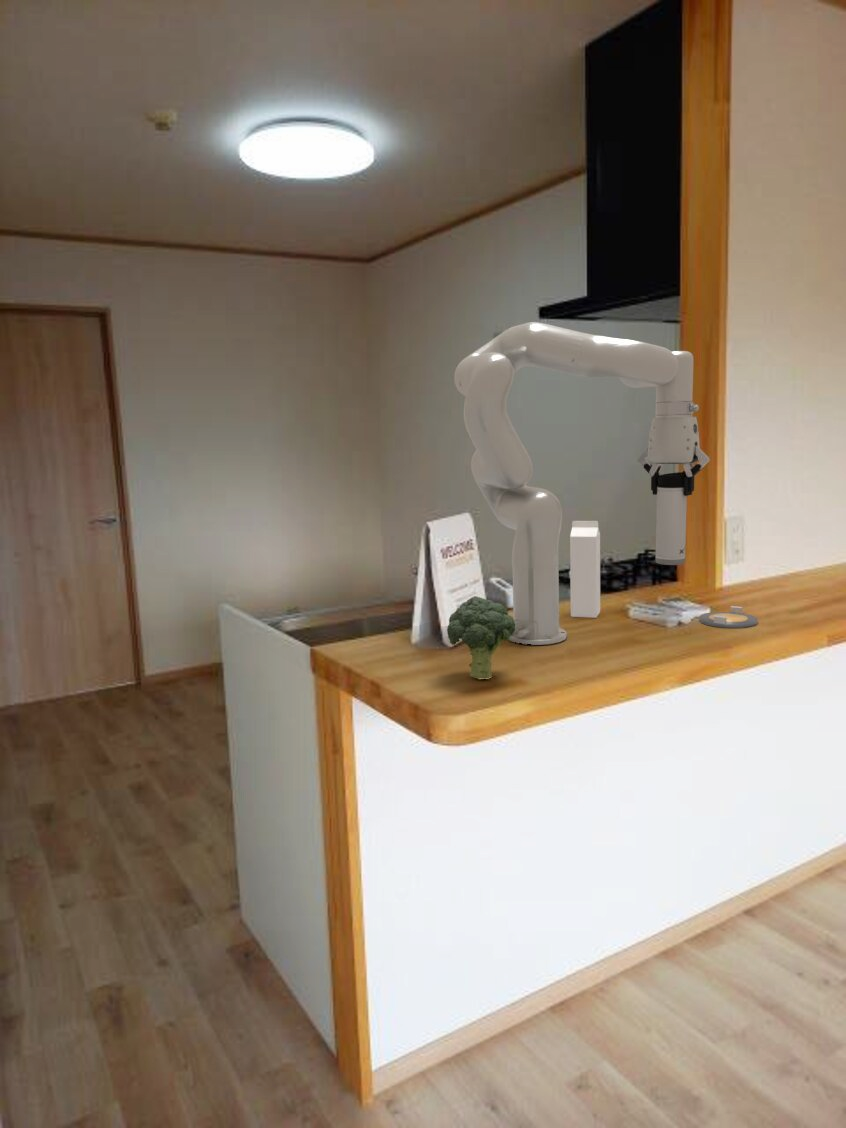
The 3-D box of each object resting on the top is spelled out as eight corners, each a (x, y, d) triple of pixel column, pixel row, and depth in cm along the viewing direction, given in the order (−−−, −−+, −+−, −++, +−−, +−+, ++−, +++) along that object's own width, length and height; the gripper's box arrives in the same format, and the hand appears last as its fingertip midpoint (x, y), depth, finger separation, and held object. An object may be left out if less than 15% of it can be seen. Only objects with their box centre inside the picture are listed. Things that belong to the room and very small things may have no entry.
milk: (596, 618, 192) (596, 522, 188) (570, 617, 194) (569, 522, 190) (600, 612, 198) (600, 519, 194) (574, 610, 200) (574, 518, 196)
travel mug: (690, 564, 182) (693, 472, 178) (659, 565, 182) (661, 472, 179) (681, 559, 188) (684, 470, 185) (652, 560, 188) (654, 470, 185)
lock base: (747, 630, 176) (747, 620, 176) (691, 624, 184) (691, 614, 183) (764, 619, 185) (765, 609, 185) (710, 612, 193) (710, 603, 192)
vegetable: (513, 667, 157) (512, 588, 154) (518, 689, 144) (517, 604, 142) (448, 669, 157) (446, 590, 155) (448, 690, 145) (445, 606, 142)
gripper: (720, 409, 177) (717, 494, 180) (642, 411, 188) (641, 492, 191) (707, 409, 171) (705, 497, 174) (628, 412, 182) (627, 495, 185)
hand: (672, 493), depth 182 cm, fingers closed on travel mug, 6 cm apart
